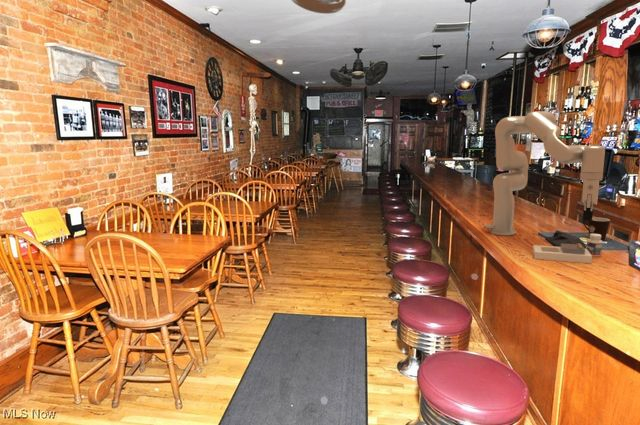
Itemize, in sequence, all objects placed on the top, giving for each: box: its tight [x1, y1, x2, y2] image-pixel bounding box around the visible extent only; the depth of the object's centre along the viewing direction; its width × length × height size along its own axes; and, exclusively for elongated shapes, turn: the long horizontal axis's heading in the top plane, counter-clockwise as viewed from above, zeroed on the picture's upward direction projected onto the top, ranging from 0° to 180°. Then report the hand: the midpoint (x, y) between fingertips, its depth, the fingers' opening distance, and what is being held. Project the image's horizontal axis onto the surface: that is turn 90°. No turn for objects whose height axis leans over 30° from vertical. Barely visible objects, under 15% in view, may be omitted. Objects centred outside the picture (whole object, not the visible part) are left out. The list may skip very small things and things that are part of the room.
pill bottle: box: [586, 234, 603, 258], centre depth 166 cm, size 5×5×9 cm
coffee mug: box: [582, 216, 611, 242], centre depth 190 cm, size 12×9×10 cm
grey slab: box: [561, 243, 585, 254], centre depth 163 cm, size 8×8×3 cm
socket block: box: [532, 244, 593, 264], centre depth 165 cm, size 20×11×3 cm, turn 66°
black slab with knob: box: [545, 230, 587, 249], centre depth 183 cm, size 15×22×5 cm
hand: (587, 219), depth 164 cm, fingers closed
